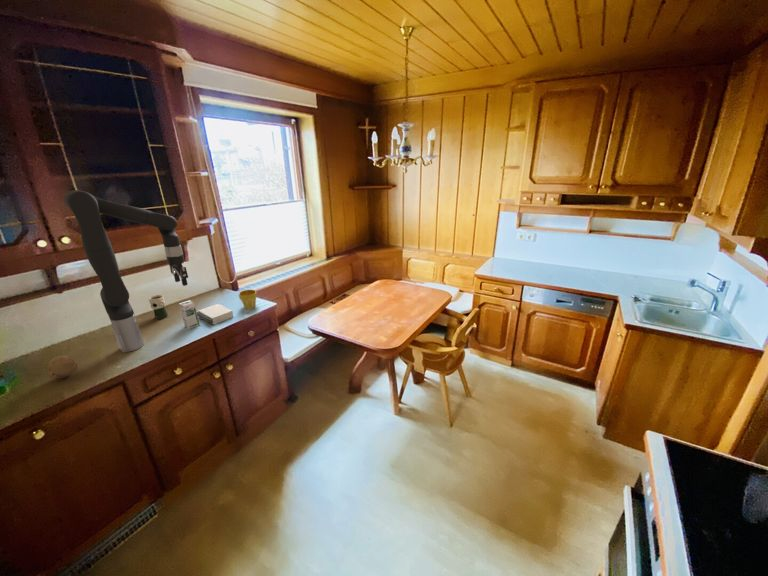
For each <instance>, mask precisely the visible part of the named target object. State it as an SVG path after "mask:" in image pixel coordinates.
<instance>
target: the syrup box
mask: <svg viewBox="0 0 768 576" xmlns="http://www.w3.org/2000/svg"><path fill="white" fill-rule="evenodd" d="M195 305H196V304H195V302H194V301H192V300H190V299H189V300H186V301H183V302H179V303H178V306H179V310H180V314H181V316H182V317H181V318H182V321H183V324H184V327H186V329H189V330H190V329H193V328H196V327H198V326H200V321H199V318H198V316H197V312H198V311H197V309H196V306H195Z"/></svg>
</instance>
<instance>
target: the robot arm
mask: <svg viewBox="0 0 768 576" xmlns="http://www.w3.org/2000/svg"><path fill="white" fill-rule="evenodd" d="M63 202H64V204H65V205H66V207H67V208H69V210H71V212H72V213H73V215H74V217H75V219H76V221H77V224H78V226H79V229H80V235H81V243H82V247H83V251H84V252H85V255H86V258H87V260H88V263H89V264H90V266H91V268H92V270H93V271H94V273H95V274H96V275H97V277H98V279H99V281H100V284H101V289H100V294H99V296H100V298H101V301H102V304H103V306H104V310H105V311H106V313H107V316H108V319H109V320H110V322H111V326H112V328H113V331H114V332H113V334H114V338H115V341H116V343H117V345H118V348H119V350H120V351H121V352H122V353H124V354H125V353H127V352H132V351H133V352H134V351H137V350H139V349H141V348H142V347H143V346H144V345H145V342H144V339H143V336H142V333H141V331H140V328H139V325H138V321H137V318H136V315H135V312H134V309H133V307H132V305H131V303H130V302H129V300H130V293H129V291H128V289H127V287H126V285H125V283H124V281H123V278H122V277H121V272H120V269H119V265H118V262H117V258H116V254H115V252H114V248H113V246H112V243H111V241H110V239H109V237H108V233H107V231H106V229H105V228H104V224H103V222H102V217H101V215H105V216H110V217H114V218H116V219H117V218H118V219H122V220H124V221H128V222H132V223H136V224H139V225H144V226H145V225H146V226H151V227H155V228H157V229H158V232H159V234H160V235H161V238H162V243H163V247H164V252H165V257H166V261H167V264H168V265H169V270H170V273H171V274H172V276H173V277H174V282H176V283H179V282H181V284H182V286H183V287H185V286H188V281H187V279H189V275H188V271H187V267H186V266H183V264H184V263H185V261H186V259H185V257H184V251H183V248H182V245H181V240H180V237H179V235H178V234H177V233H176V230H175V229H176V228H177V227H178V221H177V219H176V217H174V216H171V215H169V214H166V213H165V214H164V213H159V212H154V211H152V210H149V209H144V208H141V207H137V206H132V205H127V204H122V203H118V202H113V201H110V200H106V199H103V198H101V197H97V196H95V195H93V194H91V193H89V192H87V191H84V190H80V189H73V190H69V191H68V192H67V193H65V194H64V196H63Z"/></svg>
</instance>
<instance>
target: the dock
mask: <svg viewBox="0 0 768 576" xmlns="http://www.w3.org/2000/svg"><path fill="white" fill-rule="evenodd" d="M196 312H197V316H198V317H199V318H200V319H201V320H204V321H205V322H206V323H209V324H210V325H217V324H218V323H221V322H224V321H226V320H229V319H231V318H234V312H233V310H231V309H229V308H227V307H226V306H224V305H221V303H216V304H213V305H211V306H208V307H205V308H202V309H201V308H200V309H198V311H196Z"/></svg>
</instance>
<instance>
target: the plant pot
mask: <svg viewBox="0 0 768 576" xmlns="http://www.w3.org/2000/svg"><path fill="white" fill-rule="evenodd" d="M238 297H239V300H240V301H241V303H242V306H243V307H244V309H252V308H255V307H256V305H257V304H256V303H257V297H258V293H257V291H256V290H255V289H244V290H241V291H240V292H239V293H238Z"/></svg>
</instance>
